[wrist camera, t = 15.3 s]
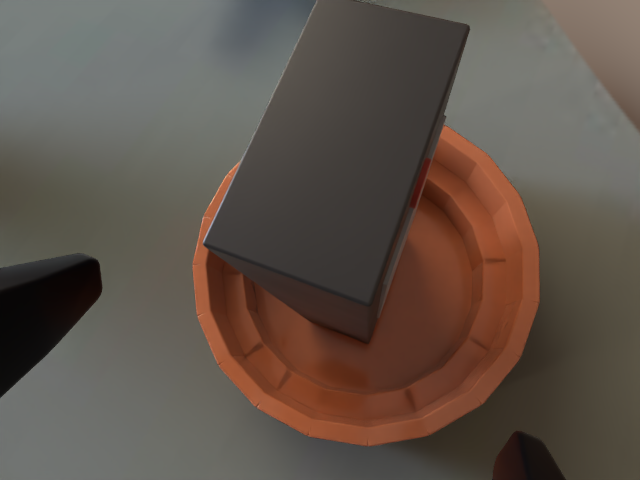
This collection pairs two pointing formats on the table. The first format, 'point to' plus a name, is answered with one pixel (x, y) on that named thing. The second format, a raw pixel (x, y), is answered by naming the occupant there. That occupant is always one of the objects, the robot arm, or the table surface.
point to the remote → (341, 162)
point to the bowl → (391, 317)
